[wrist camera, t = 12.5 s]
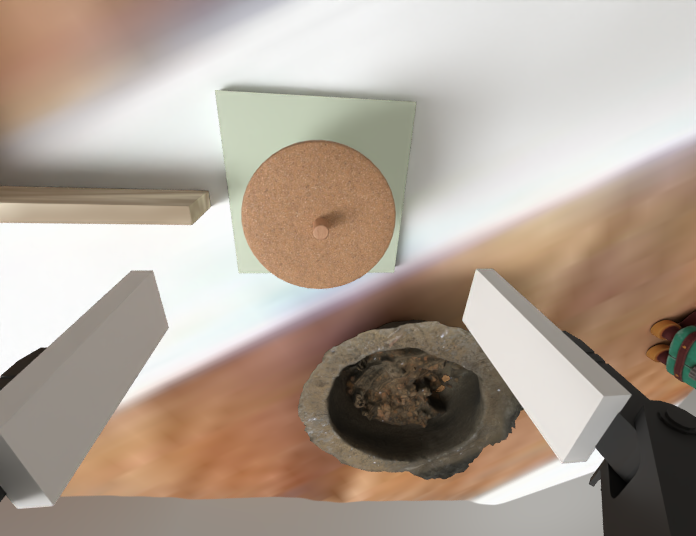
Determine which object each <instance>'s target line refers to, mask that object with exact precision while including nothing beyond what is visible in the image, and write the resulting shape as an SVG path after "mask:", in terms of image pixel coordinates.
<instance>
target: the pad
mask: <svg viewBox="0 0 696 536" xmlns="http://www.w3.org/2000/svg"><path fill="white" fill-rule="evenodd" d="M215 95H216V102H217V110H218V118H219V125H220V133H221V141H222V148H223V156H224V164H225V171H226V179H227V187H228V194H229V202H230V210H231V218H232V225H233V233H234V241H235V248H236V256H237V264H238V271H239V273H271V272H269V271H268V270H267V269H266V268H265V267H264V266H263V265H262V264H261V263H260V262H259V261H258V259H257V258H256V257H255V256H254V254H253V253H252V251H251V249H250V247H249V245H248V243H247V241H246V238H245V235H244V232H243V227H242V220H241V208H242V201H243V196H244V193H245V190H246V187H247V185H248V183H249V181H250V179H251V178H252V176H253V174H254V173H255V172H256V170H257V169H258V168H259V167H260V165H261V164H262V163H263V162H264V161H265V160H267V159H268V158H269V157H270V156H271V155H272V154H274V153H276V152H277V151H279V150H281V149H282V148H284V147H287V146H289V145H292V144H294V143H297V142H301V141H306V140H328V141H334V142H337V143H340V144H344V145H347V146H349V147H351V148H353V149H355V150H357V151H359V152H360V153H361V154H363V155H364V156H366V157H367V158H368V159H370V160H371V161H372V163H373V164H374V165H375V166H376V167H377V168H378V169H379V170H380V171H381V173H382V174H383V176H384V177H385V179H386V180H387V182H388V185H389V187H390V189H391V191H392V195H393V198H394V202H395V211H396V219H395V228H394V233H393V237H392V239H391V242H390V245H389V247H388V248H387V250H386V252H385V254H384V255H383V257H382V258H381V259H380V261H379V262H378V263H377V264H376V265H375V266H374V267H373V268H372V269H371V270H370V271H369V272H367V273H392V272H394V270H395V262H396V254H397V247H398V239H399V232H400V224H401V216H402V209H403V201H404V193H405V186H406V178H407V171H408V163H409V155H410V148H411V140H412V133H413V125H414V117H415V110H416V102H411V101H394V100H377V99H359V98H342V97H325V96H307V95H290V94H272V93H255V92H238V91H220V90H215Z"/></svg>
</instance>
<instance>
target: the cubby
mask: <svg viewBox="0 0 696 536" xmlns="http://www.w3.org/2000/svg"><path fill="white" fill-rule="evenodd" d="M210 207H211V204H210V198H209V192H208V191H200V190H157V189H114V188H71V187H28V186H0V223H74V224H160V225H193V224H194V223H195V222H196V221H197V220H198V219H199V218H200V217H201V216H202V215H203V214H204V213H205V212H206V211H207V210H208V209H209V208H210Z"/></svg>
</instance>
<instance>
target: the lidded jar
mask: <svg viewBox="0 0 696 536" xmlns="http://www.w3.org/2000/svg"><path fill="white" fill-rule="evenodd" d="M395 219H396V211H395V202H394V198H393V195H392V191H391V189H390V187H389V185H388V182H387V180H386V179H385V177H384V176H383V174H382V173H381V171H380V170H379V169H378V168H377V167H376V166H375V165H374V164H373V163H372V161H371V160H370V159H368V158H367V157H366V156H364V155H363V154H361V153H360V152H359V151H357V150H355V149H353V148H351V147H349V146H347V145H344V144H340V143H337V142H334V141H328V140H306V141H301V142H297V143H294V144H292V145H289V146H287V147H284V148H282V149H281V150H279V151H277V152H276V153H274V154H272V155H271V156H270V157H269V158H268V159H267V160H265V161H264V162H263V163H262V164H261V165H260V167H259V168H258V169H257V170H256V172H255V173H254V174H253V176H252V178H251V179H250V181H249V183H248V185H247V187H246V190H245V193H244V196H243V201H242V208H241V220H242V227H243V232H244V235H245V238H246V241H247V243H248V245H249V247H250V249H251V251H252V253H253V254H254V256H255V257H256V258H257V259H258V261H259V262H260V263H261V264H262V265H263V266H264V267H265V268H266V269H267V270H268V271H269V272H271V273H272V274H274V275H275V276H277V277H278V278H280V279H282V280H284V281H286V282H288V283H291V284H294V285H297V286H301V287H306V288H315V289H324V288H333V287H338V286H342V285H345V284H347V283H350V282H352V281H354V280H356V279H358V278H360V277H362V276H363V275H364V274H366V273H367V272H369V271H370V270H371V269H372V268H373V267H374V266H375V265H376V264H377V263H378V262H379V261H380V259H381V258H382V257H383V255H384V254H385V252H386V250H387V248H388V247H389V245H390V242H391V239H392V237H393V233H394V228H395Z"/></svg>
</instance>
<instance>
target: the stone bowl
mask: <svg viewBox="0 0 696 536" xmlns="http://www.w3.org/2000/svg"><path fill="white" fill-rule="evenodd" d="M443 375H447V376H449V377H450V380H449V381H446V382H445V383H444V381H443V380H442V379H441V378H442V377H443ZM441 385H443V386H445V389H444V390H443V391H442V392H435V390H436V389H437V388H438V387H439V386H441ZM521 410H524V408H523V407H522V406H521V404H520V403H519V401H518V400H517V398H516V397H515V395H514V394H513V393H512V391H511V390H510V388H509V387H508V385H507V384H506V383H505V381H504V380H503V378H502V377H501V375H500V374H499V372H498V371H497V370H496V368H495V367H494V365H493V364H492V362H491V361H490V360H489V358H488V357H487V355H486V354H485V352H484V351H483V350H482V348H481V347H480V345H479V344H478V342H477V341H476V339H475V338H474V337H473V335H472V334H471V332H470V331H466V330H464V329H462V328H458V327H448V326H446V325H443V324H440V323H439V322H438V321H432V322H431V321H429V322H427V321H422V320H409V321H398V322H391V323H388V324H385V325H382V326H381V327H379V328H377V329H374V330H369V331H366V332H363V333H360V334H358V336H357V337H354V338H352V339H349V340H347V341H345V342H343V343H342V344H340V345H339V346H335V347H333V348H332V349H330V350H328V351H327V352H326V353H325V354H324V357H323V360H322V363H321V364H319V365H318V366H317V368H316V369H315V370H314V371H313V372H312V374H311V376H310V378H309V380H308V381H307V382H306V383H305V384H304V386H303V392H302V393H301V397H300V401H299V406H298V414H299V417H300V418H301V421H302V422H304V425H305V426H306V428H305V431H306V432H307V433H308V435H309V437H310V441H312V442H313V443H314V444H316V445H317V446H318V447H319V448H321V449H322V450H324V451H325V452H327V453H329V454H332V455H333V456H334V457H336V458H337V459H338V460H339V461H340V462H341V463H343V464H346V465H349V466H352V467H355V468H359V469H361V470H365V471H371V472H382V471H386V472H404V471H409V472H410V473H412V474H413V475H416V476H419V477H422V478H423V479H426V480H428V479H431V478H433V479H436V478H441V479H447V478H448V477H451V476H453V475H454V474H455V473H461V472H464V471H465V470H466V469H467V468H468V467H469V465H468V464H469V463H472V462H473V460H474V459H475V458H477V457H478V456H479V454H480V453H481V451H482V449H483V448H484V447H486V446H487V445H489V444H491V445H492V446H493V445H494V444H495V443H500V442H501V440H506V438H507V437H508V433H512V429H511V427H514V428H515V420H516V419H517V417H518V416H519V414H520V411H521Z"/></svg>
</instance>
